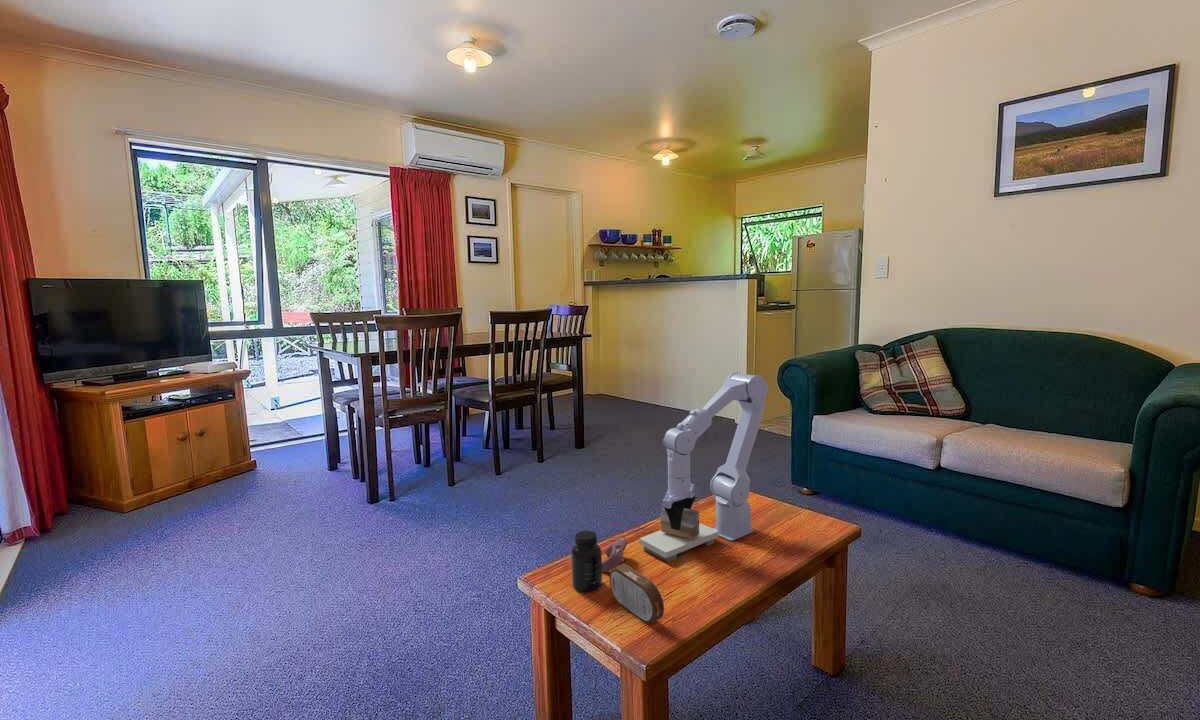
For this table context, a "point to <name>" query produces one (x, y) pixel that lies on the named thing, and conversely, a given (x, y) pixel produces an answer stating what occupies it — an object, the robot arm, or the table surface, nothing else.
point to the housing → (682, 524)
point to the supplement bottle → (586, 562)
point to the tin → (636, 593)
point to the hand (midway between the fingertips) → (679, 525)
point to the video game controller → (614, 555)
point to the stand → (676, 542)
